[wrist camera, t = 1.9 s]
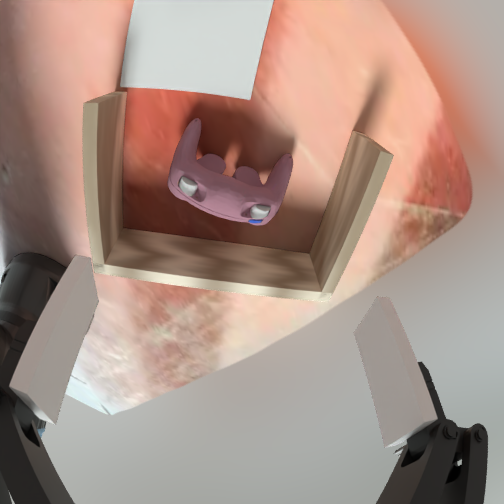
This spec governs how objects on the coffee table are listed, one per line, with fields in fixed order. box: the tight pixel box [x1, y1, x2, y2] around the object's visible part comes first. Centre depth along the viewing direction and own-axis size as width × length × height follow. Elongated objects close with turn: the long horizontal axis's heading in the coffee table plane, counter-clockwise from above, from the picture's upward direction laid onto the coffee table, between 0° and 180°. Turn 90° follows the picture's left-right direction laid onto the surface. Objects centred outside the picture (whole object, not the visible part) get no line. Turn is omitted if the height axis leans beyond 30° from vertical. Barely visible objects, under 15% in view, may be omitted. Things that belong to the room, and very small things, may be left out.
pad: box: [120, 0, 274, 100], centre depth 18 cm, size 11×11×1 cm
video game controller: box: [168, 118, 293, 225], centre depth 24 cm, size 10×5×7 cm, turn 66°
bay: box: [83, 92, 394, 302], centre depth 24 cm, size 22×15×6 cm
